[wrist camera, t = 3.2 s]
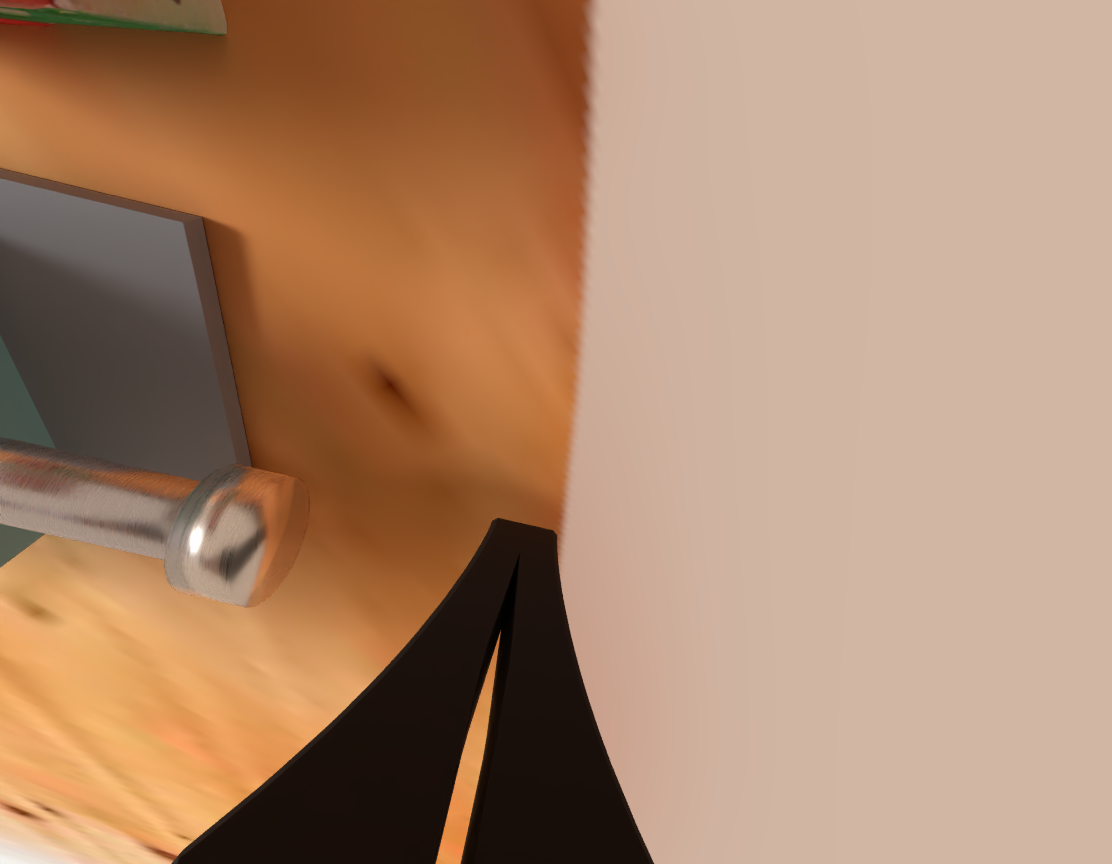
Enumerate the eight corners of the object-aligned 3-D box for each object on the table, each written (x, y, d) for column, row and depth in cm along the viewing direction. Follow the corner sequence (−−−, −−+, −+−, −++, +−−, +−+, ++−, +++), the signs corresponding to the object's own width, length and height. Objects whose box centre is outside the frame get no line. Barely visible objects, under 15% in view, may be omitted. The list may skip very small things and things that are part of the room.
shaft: (-141, 434, 11) (-316, 512, 9) (-219, 332, 10) (-450, 396, 8) (313, 536, 12) (245, 634, 10) (304, 452, 10) (219, 546, 8)
